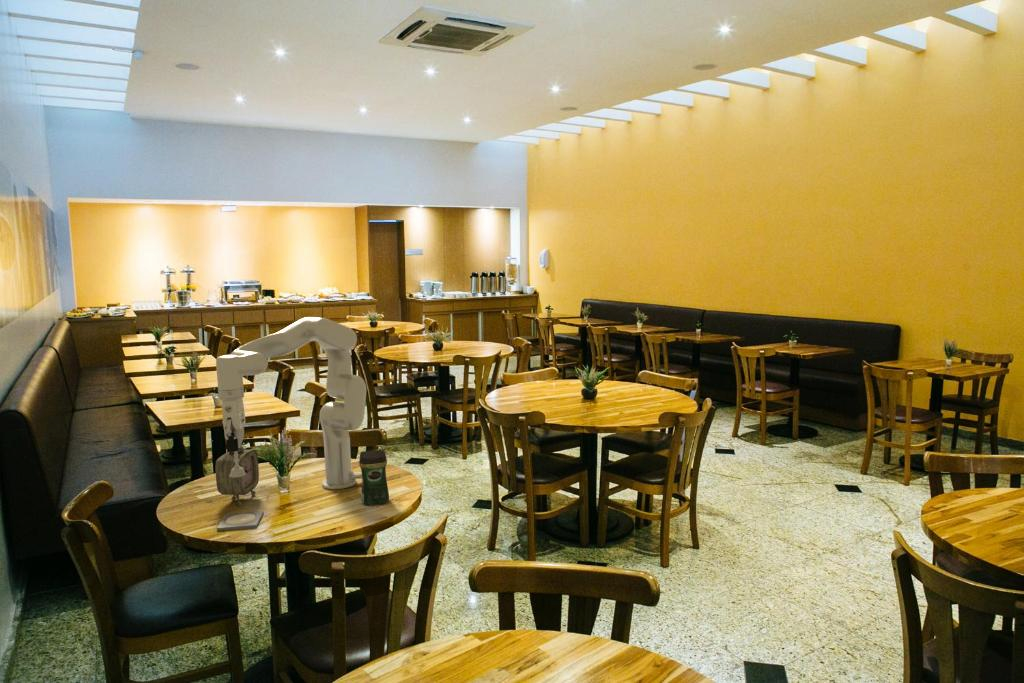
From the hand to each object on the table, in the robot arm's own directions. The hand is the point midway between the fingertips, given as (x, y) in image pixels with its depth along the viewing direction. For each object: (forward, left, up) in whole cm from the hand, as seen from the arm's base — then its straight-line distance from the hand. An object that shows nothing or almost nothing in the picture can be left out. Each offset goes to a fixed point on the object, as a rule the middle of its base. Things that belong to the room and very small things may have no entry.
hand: (235, 447), depth 220 cm
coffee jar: (-43, -9, -25) cm, 51 cm away
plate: (0, 0, -25) cm, 25 cm away
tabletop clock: (+5, -21, -25) cm, 33 cm away
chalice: (0, 0, -9) cm, 9 cm away
